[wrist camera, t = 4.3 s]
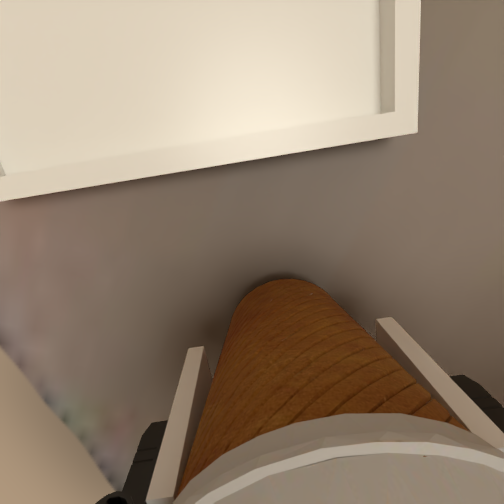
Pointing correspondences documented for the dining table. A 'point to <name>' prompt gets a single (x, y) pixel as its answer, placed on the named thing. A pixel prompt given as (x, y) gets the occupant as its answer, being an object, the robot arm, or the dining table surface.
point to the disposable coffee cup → (326, 417)
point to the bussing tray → (195, 84)
